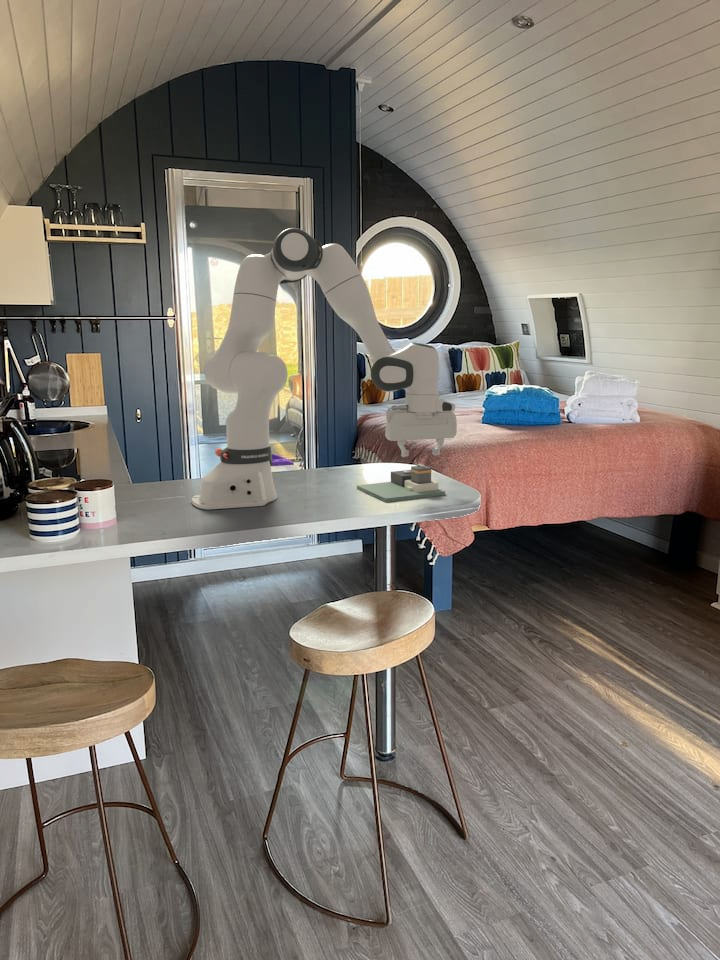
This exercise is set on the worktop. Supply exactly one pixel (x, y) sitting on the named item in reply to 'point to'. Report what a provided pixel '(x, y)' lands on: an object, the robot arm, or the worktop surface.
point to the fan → (400, 477)
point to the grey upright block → (420, 474)
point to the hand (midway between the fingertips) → (420, 455)
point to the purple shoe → (280, 461)
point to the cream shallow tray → (421, 486)
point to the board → (395, 492)
